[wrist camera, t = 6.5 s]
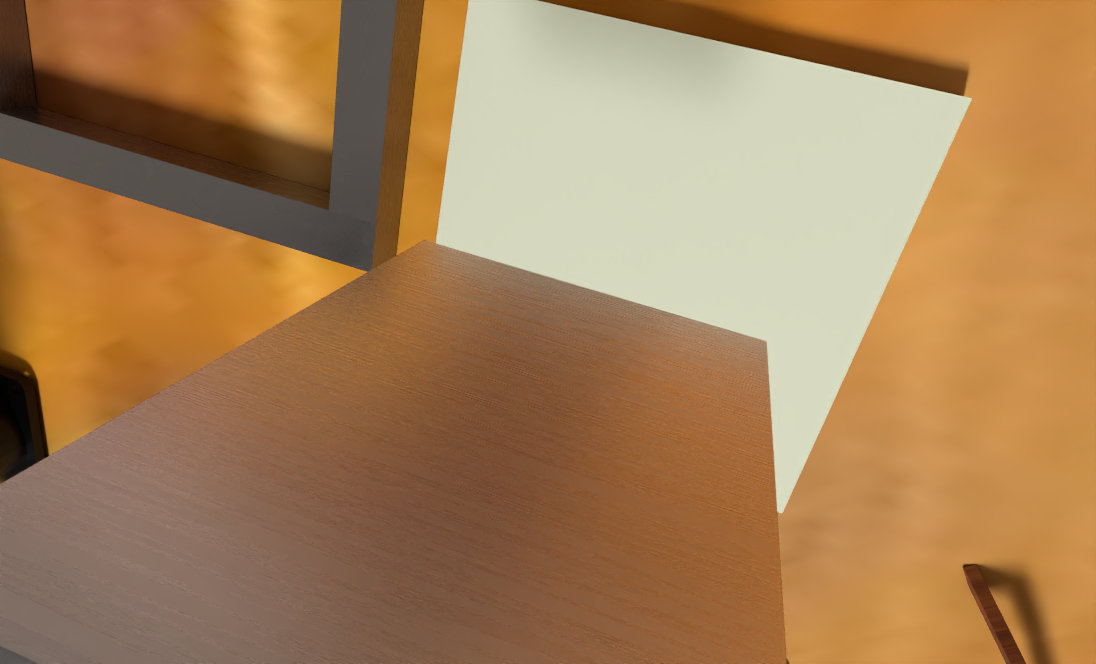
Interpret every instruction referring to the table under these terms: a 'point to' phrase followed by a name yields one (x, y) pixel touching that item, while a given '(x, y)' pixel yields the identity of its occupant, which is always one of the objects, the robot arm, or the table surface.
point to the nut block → (418, 491)
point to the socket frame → (236, 192)
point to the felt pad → (694, 184)
